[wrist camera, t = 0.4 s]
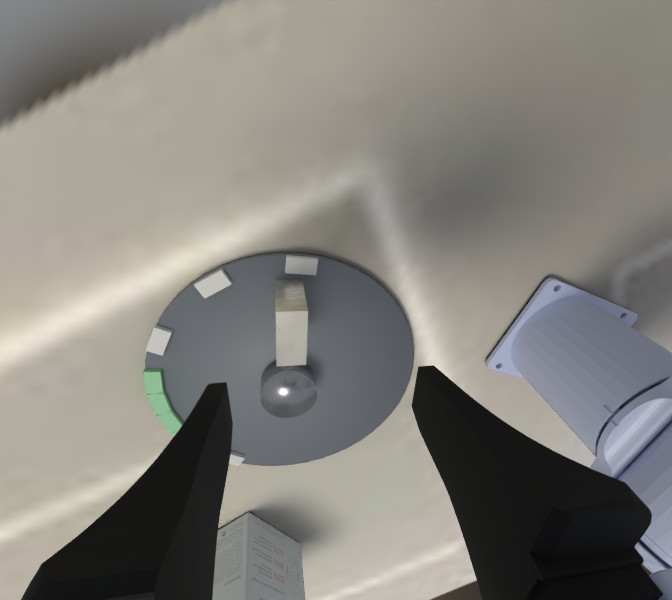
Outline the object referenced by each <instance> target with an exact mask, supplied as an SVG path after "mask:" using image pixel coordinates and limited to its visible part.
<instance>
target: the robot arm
mask: <svg viewBox="0 0 672 600" xmlns="http://www.w3.org/2000/svg"><path fill="white" fill-rule="evenodd" d="M555 286H556V288H555V289H554V287H555ZM637 318H638V315H637V314H636V313H634V312H633V311H630V310H628V309H626V308H623V307H621V306H618V305H616V304H614V303H611V302H609V301H607V300H604V299H602V298H600V297H597V296H595V295H592V294H590V293H588V292H585V291H583V290H581V289H578V288H576V287H574V286H571V285H569V284H566V283H564V282H562V281H559V280H557V279H555V278H548V279H546V280H545V281H544V282H543V283H542V285H541V286H540V288H539V289H538V290H537V292H536V293H535V294H534V296H533V297H532V299H531V300H530V301H529V303H528V304H527V305H526V307H525V308H524V310H523V311H522V312H521V314H520V315H519V316H518V318H517V319H516V321H515V322H514V323H513V325H512V326H511V327H510V329H509V330H508V332H507V333H506V334H505V336H504V337H503V338H502V340H501V341H500V343H499V344H498V345H497V347H496V348H495V349H494V351H493V352H492V354H491V355H490V356H489V358H488V359H487V361H486V366H487V367H488V368H489V369H492V370H495V371H498V372H502V373H505V374H509V375H512V376H516V377H519V378H523V379H526V380H527V381H528V382H529V383H530V385H531V386H532V387H533V388H534V389H535V390H536V391H537V392H538V393H539V394H540V396H541V397H542V398H543V399H544V400H545V401H546V402H547V403H548V404H549V406H550V407H551V408H552V409H553V410H554V411H555V412H556V413H557V414H558V415H559V417H560V418H561V419H562V420H563V421H564V422H565V423H566V424H567V425H568V427H569V428H570V429H571V430H572V431H573V432H574V433H575V434H576V435H577V436H578V438H579V439H580V440H581V441H582V442H583V443H584V444H585V445H586V446H587V448H588V449H589V450H590V451H591V452H592V453H593V454H594V455H595V456H596V459H595V461H594V462H593V464H592V465H591V467H590V468H591V469H590V468H588V467H586V466H584V465H582V464H579V463H577V462H575V461H573V460H571V459H569V458H566V457H564V456H562V455H560V454H558V453H556V452H554V451H552V450H551V449H549V448H547V447H545V446H543V445H541V444H540V443H538V442H536V441H534V440H532V439H531V438H529V437H527V436H526V435H524V434H522V433H521V432H519V431H518V430H516V429H514V428H513V427H511V426H510V425H508V424H507V423H505V422H504V421H502V420H501V419H499V418H498V417H497V416H495V415H494V414H492V413H491V412H490V411H488V410H487V409H486V408H484V407H483V406H482V405H480V404H479V403H478V402H476V401H475V400H474V399H473V398H471V397H470V396H469V395H468V394H467V393H465V392H464V391H463V390H462V389H461V388H459V387H458V386H457V385H456V384H455V383H453V382H452V381H451V380H450V379H449V378H448V377H446V376H445V375H444V374H443V373H442V372H441V371H439V370H438V369H437V368H436V367H435V366H422V367H418V372H417V378H416V384H415V390H414V396H413V402H412V408H413V412H414V415H415V418H416V421H417V424H418V427H419V430H420V432H421V435H422V437H423V439H424V441H425V443H426V446H427V448H428V450H429V452H430V454H431V456H432V458H433V461H434V463H435V465H436V467H437V469H438V471H439V473H440V476H441V478H442V480H443V482H444V484H445V487H446V489H447V491H448V494H449V496H450V499H451V502H452V505H453V507H454V510H455V513H456V516H457V519H458V522H459V525H460V528H461V531H462V534H463V537H464V540H465V543H466V546H467V549H468V552H469V555H470V559H471V562H472V565H473V568H474V572H475V575H476V578H477V582H478V585H479V589H480V592H481V596H482V599H483V600H672V353H671V352H670V351H668V350H666V349H665V348H663V347H662V346H660V345H659V344H657V343H656V342H654V341H652V340H651V339H649V338H648V337H646V336H645V335H643V334H641V333H640V332H638V331H637V330H635V329H634V328H632V327H631V326H632V325H633V324H634V322H635V321H636V320H637ZM497 364H498V365H497ZM232 429H233V421H232V414H231V408H230V401H229V395H228V388H227V382H222V383H209V384H208V385H207V386H206V388H205V389H204V391H203V393H202V395H201V397H200V398H199V400H198V402H197V403H196V405H195V406H194V408H193V410H192V411H191V413H190V414H189V416H188V417H187V419H186V420H185V422H184V423H183V425H182V426H181V428H180V429H179V430H178V432H177V433H176V435H175V436H174V437H173V439H172V440H171V441H170V443H169V444H168V445H167V446H166V448H165V449H164V450H163V452H162V453H161V454H160V455H159V457H158V458H157V459H156V460H155V461H154V463H153V464H152V465H151V466H150V467H149V468H148V469H147V471H146V472H145V473H144V474H143V475H142V476H141V477H140V478H139V479H138V480H137V481H136V482H135V484H134V485H133V486H132V487H131V488H130V489H129V490H128V491H127V492H126V493H125V494H124V495H123V496H122V497H121V498H120V499H119V500H118V501H117V502H116V503H115V504H114V505H112V506H111V507H110V508H109V509H108V510H107V511H106V512H105V513H104V514H102V515H101V516H100V517H99V518H98V519H97V520H96V521H95V522H94V523H92V524H91V525H90V526H89V527H88V528H87V529H86V530H84V531H83V532H82V533H81V534H80V535H78V536H77V537H76V538H75V539H73V540H72V541H71V542H70V543H68V544H67V545H66V546H64V547H63V548H62V549H61V550H59V551H58V552H57V553H55V554H54V555H53V556H52V557H50V558H49V559H48V560H46V561H45V562H44V563H42V564H41V566H40V568H39V570H38V571H37V573H36V575H35V576H34V578H33V579H32V581H31V582H30V584H29V586H28V588H27V590H26V591H25V593H24V595H23V597H22V599H21V600H212V596H213V582H214V569H215V556H216V544H217V533H218V523H219V516H220V510H221V504H222V499H223V493H224V487H225V482H226V476H227V471H228V465H229V460H230V454H231V445H232ZM640 564H643V565H644V566H645V567H646V568H647V569H648V570H650V571H651V572H652V574H651V575H648V574H647V573H646V571H645V570H644V569H643V568H642V566H641V565H640Z"/></svg>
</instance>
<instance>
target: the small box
mask: <svg viewBox="0 0 672 600" xmlns="http://www.w3.org/2000/svg"><path fill="white" fill-rule="evenodd" d="M212 600H305V591H304V580H303V568H302V556H301V545H300V543H298V542H297V541H295V540H293V539H292V538H290V537H288V536H287V535H285V534H284V533H282V532H280V531H279V530H277V529H275V528H274V527H272V526H270V525H269V524H267V523H266V522H264V521H262V520H261V519H259V518H257V517H256V516H254V515H252V514H251V513H246V514H245V515H243V516H241V517H240V518H238V519H236V520H235V521H233V522H231V523H230V524H228V525H226V526H225V527H223V528H221V529H220V530H218V533H217V544H216V556H215V569H214V582H213V596H212Z"/></svg>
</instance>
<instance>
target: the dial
mask: <svg viewBox="0 0 672 600" xmlns="http://www.w3.org/2000/svg"><path fill="white" fill-rule="evenodd" d="M275 279H302V281H303V286H304V292H305V297H306V302H307V308H308V330H307V358H306V363H307V364H308V365H309V366H310V367H311V368H312V370H313V373H314V379H315V385H316V391H317V399H316V402H315V404H314V405H313V407H312V408H311V409H310V410H309V411H307V412H306V413H304V414H302V415H300V416H297V417H293V418H280V417H276V416H273V415H271V414H269V413H268V412H267V411H266V410H265V409H264V408H263V406H262V404H261V376H262V373H263V371H264V370H265V368H266V367H267V366H268V365H269V364H271V363H272V362H274V361H276V335H275ZM145 351H147V355H146V361H145V369H144V371H143V376H144V382H145V388H146V394H147V396H148V399H149V401H150V403H151V405H152V407H153V409H154V411H155V414H156V415H157V417H158V418H159V419H160V421H161V422H162V423H163V424H164V426H165V427H166V428H167V429H168V430H169V432H170V433H171V432H172V433H171V434H172V435H174V436H175V435H176V433H177V432H178V430H179V429H180V428H181V426H182V425H183V423H184V422H185V420H186V419H187V417H188V416H189V414H190V413H191V411H192V410H193V408H194V406H195V405H196V403H197V402H198V400H199V398H200V397H201V395H202V393H203V391H204V389H205V388H206V386H207V385H208V384H209V383H222V382H227V388H228V395H229V401H230V408H231V414H232V421H233V429H232V445H231V454H230V460H229V464H231V465H235V466H239V465H240V464H241V463H244V464H251V465H261V466H280V465H292V464H298V463H304V462H309V461H313V460H317V459H321V458H324V457H326V456H329V455H332V454H335V453H337V452H339V451H341V450H344V449H346V448H348V447H350V446H352V445H353V444H355V443H357V442H359V441H360V440H362V439H363V438H365V437H366V436H367V435H369V434H370V433H372V432H373V431H374V430H375V429H376V428H377V427H378V426H380V425H381V424H382V423H383V422H384V421H385V420H386V419H387V417H388V416H389V415H390V414H391V413H392V412H393V410H394V409H395V408H396V406H397V405H398V403H399V402H400V400H401V398H402V396H403V395H404V393H405V391H406V388H407V386H408V383H409V381H410V377H411V373H412V369H413V359H414V349H413V340H412V336H411V332H410V328H409V325H408V323H407V321H406V319H405V316H404V314H403V313H402V311H401V309H400V308H399V306H398V305H397V303H396V302H395V300H394V299H393V297H392V296H391V295H390V294H389V293H388V292H387V291H386V290H385V289H384V287H383V286H381V285H380V284H379V283H378V282H377V281H375V280H374V279H373V278H372V277H370V276H369V275H367V274H365V273H364V272H362V271H360V270H359V269H357V268H355V267H353V266H351V265H348V264H346V263H344V262H341V261H339V260H336V259H332V258H328V257H325V256H321V255H315V254H308V253H301V252H276V253H266V254H259V255H254V256H250V257H245V258H241V259H238V260H235V261H232V262H230V263H227V264H224V265H221V266H219V267H217V268H215V269H214V270H212V271H210V272H208V273H206V274H204V275H202V276H201V277H199V278H198V279H197V280H195V281H194V282H192V283H191V284H189V285H188V286H187V287H186V288H185V289H184V290H183V291H182V292H180V293H179V294H178V295H177V296H176V297H175V298H174V299H173V301H172V302H171V303H170V304H169V306H168V307H167V308H166V309H165V311H164V312H163V314H162V316H161V318H160V319H159V321H158V323H157V325H155V327H154V329H153V332H152V335H151V337H150V340H149V342H148V345H147V347H146V350H145Z"/></svg>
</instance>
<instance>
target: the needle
mask: <svg viewBox="0 0 672 600" xmlns="http://www.w3.org/2000/svg"><path fill="white" fill-rule="evenodd" d="M307 330H308V308H307V302H306V297H305V292H304V286H303V281H302V279H275V335H276V361H274V362H272V363H271V364H269V365H268V366H267V367H266V368H265V370H264V371H263V373H262V376H261V404H262V406H263V408H264V409H265V410H266V411H267V412H268V413H269V414H271V415H273V416H276V417H280V418H293V417H297V416H300V415H302V414H304V413H306V412H307V411H309V410H310V409H311V408H312V407H313V405H314V404H315V402H316V399H317V391H316V385H315V379H314V373H313V370H312V368H311V367H310V366H309V365H308V364H307V363H306V358H307Z"/></svg>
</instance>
